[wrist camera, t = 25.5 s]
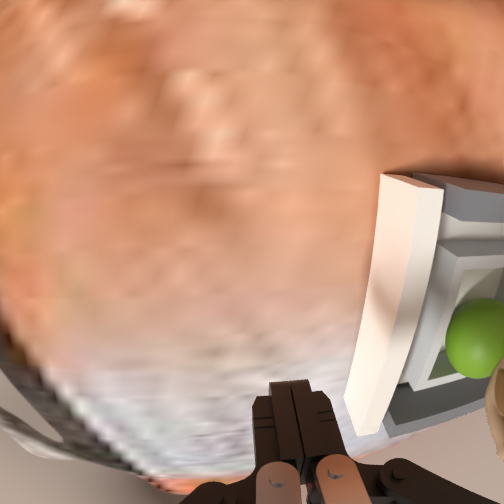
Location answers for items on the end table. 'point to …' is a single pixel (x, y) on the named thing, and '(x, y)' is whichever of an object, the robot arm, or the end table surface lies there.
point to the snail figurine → (481, 355)
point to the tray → (416, 294)
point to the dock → (466, 389)
